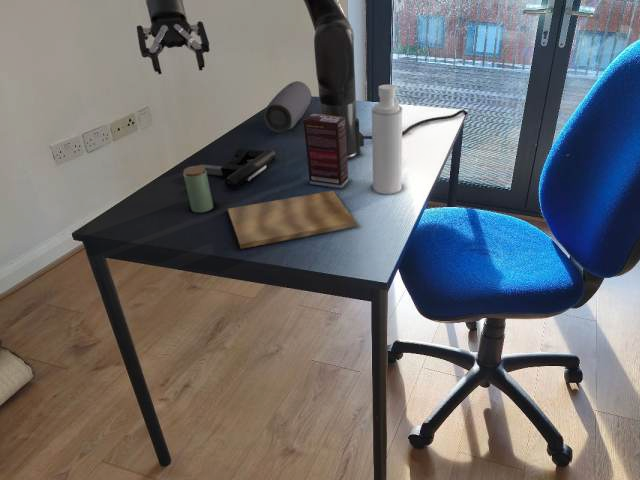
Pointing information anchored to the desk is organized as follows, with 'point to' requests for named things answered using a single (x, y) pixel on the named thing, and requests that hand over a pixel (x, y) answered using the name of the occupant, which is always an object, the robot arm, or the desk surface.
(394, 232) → the desk surface
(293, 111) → the bluetooth speaker
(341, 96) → the robot arm
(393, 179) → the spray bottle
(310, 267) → the desk surface
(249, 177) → the door handle
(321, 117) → the supplement box
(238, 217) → the oak board
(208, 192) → the salt pot
